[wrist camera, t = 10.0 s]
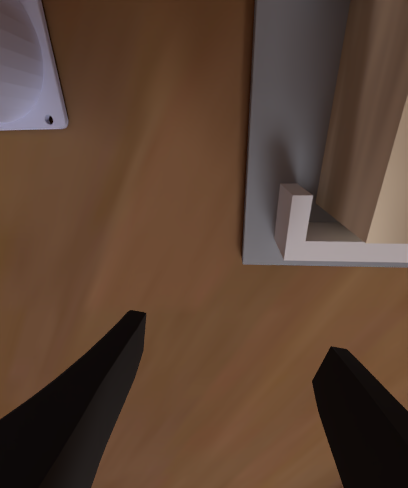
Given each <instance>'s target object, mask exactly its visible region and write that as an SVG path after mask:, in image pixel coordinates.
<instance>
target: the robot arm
mask: <svg viewBox="0 0 408 488" xmlns="http://www.w3.org/2000/svg"><path fill="white" fill-rule="evenodd" d="M50 116H51V117H52V118H53V124H51V123H50V121H49V117H50ZM67 126H68V117H67V112H66V108H65V104H64V99H63V95H62V90H61V86H60V81H59V77H58V73H57V68H56V64H55V59H54V55H53V51H52V46H51V42H50V37H49V33H48V29H47V24H46V20H45V15H44V11H43V6H42V2H41V0H0V130H36V129H64V128H66V127H67ZM145 323H146V313H144V312H139V311H133V310H130V311H128V312H127V313H126V314H125V315H124V316H123V318H122V319H121V320H120V321H119V322H118V323H117V324H116V325H115V326H114V327H113V328H112V329H111V330H110V331H109V332H108V333H107V334H106V335H105V336H104V337H103V338H102V339H101V340H99V341H98V342H97V343H96V344H95V345H94V346H93V347H92V348H91V349H90V350H89V351H88V352H87V353H85V354H84V355H83V356H82V357H81V358H80V359H78V360H77V361H76V362H75V363H74V364H73V365H71V366H70V367H69V368H68V369H67V370H66V371H64V372H63V373H62V374H61V375H60V376H58V377H57V378H56V379H55V380H53V381H52V382H51V383H50V384H48V385H47V386H46V387H44V388H43V389H42V390H40V391H39V392H38V393H36V394H35V395H34V396H32V397H31V398H30V399H28V400H27V401H26V402H24V403H23V404H21V405H20V406H19V407H17V408H16V409H14V410H13V411H11V412H10V413H9V414H7V415H6V416H4V417H3V418H1V419H0V488H91V486H92V483H93V480H94V477H95V475H96V472H97V469H98V466H99V463H100V460H101V457H102V455H103V452H104V450H105V447H106V444H107V442H108V440H109V437H110V435H111V433H112V430H113V428H114V426H115V423H116V421H117V419H118V416H119V414H120V412H121V409H122V407H123V404H124V402H125V400H126V397H127V395H128V393H129V390H130V388H131V386H132V383H133V381H134V378H135V375H136V372H137V369H138V366H139V363H140V360H141V356H142V353H143V348H144V335H145ZM312 383H313V388H314V394H315V399H316V403H317V407H318V412H319V415H320V418H321V421H322V424H323V427H324V430H325V433H326V436H327V439H328V442H329V445H330V448H331V451H332V454H333V457H334V460H335V463H336V466H337V469H338V472H339V475H340V478H341V481H342V484H343V487H344V488H408V411H407V410H406V409H405V408H404V407H403V406H402V405H401V404H400V403H399V402H398V401H397V400H396V399H395V398H394V397H393V396H392V395H391V394H390V393H389V392H388V391H387V390H386V389H385V388H384V387H383V386H382V384H381V383H380V382H379V381H378V380H377V379H376V378H375V377H374V376H373V375H372V374H371V373H370V372H369V371H368V370H367V369H366V368H365V367H364V366H363V365H362V364H361V363H360V362H359V361H358V360H357V359H356V358H355V357H354V356H353V355H352V354H351V353H350V352H349V351H348V350H347V349H343V348H337V347H332V346H331V347H330V349H329V351H328V353H327V355H326V356H325V358H324V360H323V362H322V364H321V366H320V368H319V369H318V371H317V373H316V375H315V377H314V379H313V380H312Z"/></svg>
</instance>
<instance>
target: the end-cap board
mask: <svg viewBox="0 0 408 488" xmlns="http://www.w3.org/2000/svg"><path fill="white" fill-rule="evenodd" d="M350 1H351V0H255V10H254V29H253V49H252V69H251V88H250V108H249V127H248V147H247V166H246V186H245V205H244V225H243V245H242V262H243V264H255V265H308V266H360V267H408V244H380V243H365V242H363V241H362V240H361V239H360V238H358V237H357V236H356V235H355V234H353V233H352V232H351V231H350V230H348V229H347V228H346V227H345V226H343V225H342V224H341V223H340V222H338V221H337V220H336V219H335V218H333V217H332V216H331V215H330V214H328V213H327V212H326V211H325V210H323V209H322V208H321V207H320V206H318V205H317V204H316V197H317V191H318V186H319V180H320V174H321V168H322V163H323V157H324V151H325V145H326V139H327V134H328V128H329V122H330V116H331V111H332V105H333V99H334V93H335V87H336V82H337V76H338V70H339V64H340V59H341V53H342V47H343V41H344V35H345V30H346V24H347V18H348V12H349V7H350Z"/></svg>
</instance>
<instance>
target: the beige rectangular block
mask: <svg viewBox="0 0 408 488" xmlns="http://www.w3.org/2000/svg"><path fill="white" fill-rule="evenodd" d="M316 204H317V205H318V206H320V207H321V208H322V209H323V210H325V211H326V212H327V213H328V214H330V215H331V216H332V217H333V218H335V219H336V220H337V221H338V222H340V223H341V224H342V225H343V226H345V227H346V228H347V229H348V230H350V231H351V232H352V233H353V234H355V235H356V236H357V237H358V238H360V239H361V240H362V241H363V242H365V243H380V244H408V0H351V1H350V7H349V12H348V18H347V24H346V30H345V35H344V41H343V47H342V53H341V59H340V64H339V70H338V76H337V82H336V87H335V93H334V99H333V105H332V111H331V116H330V122H329V128H328V134H327V139H326V145H325V151H324V157H323V163H322V168H321V174H320V180H319V186H318V191H317V197H316Z"/></svg>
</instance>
